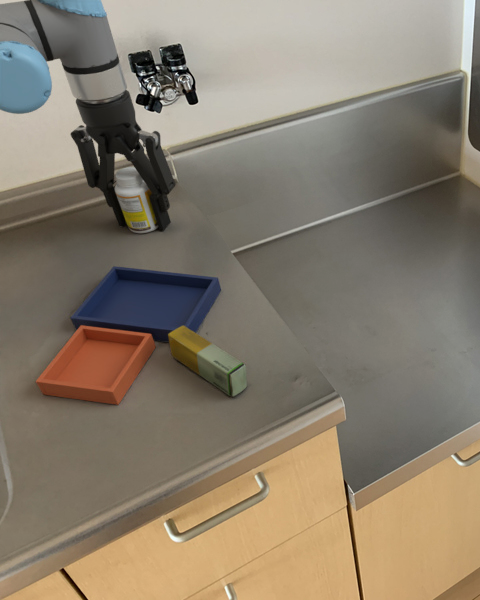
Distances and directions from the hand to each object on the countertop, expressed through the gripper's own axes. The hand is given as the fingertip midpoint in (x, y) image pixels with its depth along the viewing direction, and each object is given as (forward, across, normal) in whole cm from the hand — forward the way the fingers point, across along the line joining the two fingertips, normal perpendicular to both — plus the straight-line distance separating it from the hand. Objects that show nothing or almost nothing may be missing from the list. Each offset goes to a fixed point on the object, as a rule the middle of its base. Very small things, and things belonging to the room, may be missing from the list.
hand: (145, 223), depth 105 cm
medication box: (0, -24, +30) cm, 39 cm away
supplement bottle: (0, 0, 0) cm, 1 cm away
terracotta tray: (0, -10, +32) cm, 34 cm away
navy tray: (0, -11, +20) cm, 23 cm away
